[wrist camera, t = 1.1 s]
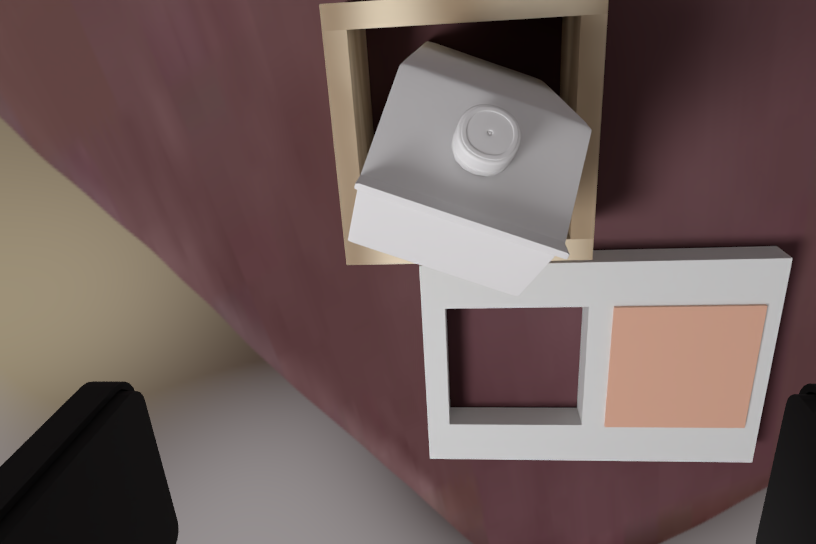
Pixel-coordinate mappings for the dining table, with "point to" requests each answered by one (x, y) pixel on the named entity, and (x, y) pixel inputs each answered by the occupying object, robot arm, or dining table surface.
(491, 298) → the board
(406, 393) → the dining table surface
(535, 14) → the frame
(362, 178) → the milk carton
